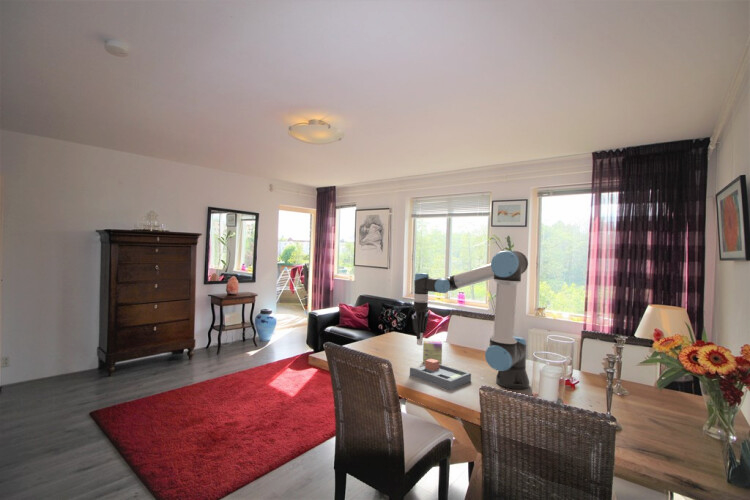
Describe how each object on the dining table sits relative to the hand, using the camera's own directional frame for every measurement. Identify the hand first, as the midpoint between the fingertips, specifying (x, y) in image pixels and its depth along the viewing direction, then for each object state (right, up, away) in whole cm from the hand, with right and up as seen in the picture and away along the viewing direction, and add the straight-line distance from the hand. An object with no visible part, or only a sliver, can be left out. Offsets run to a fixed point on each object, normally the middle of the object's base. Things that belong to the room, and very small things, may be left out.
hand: (419, 344), depth 193 cm
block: (+6, -11, -7) cm, 14 cm away
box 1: (+9, -14, +11) cm, 20 cm away
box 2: (+8, -13, -14) cm, 21 cm away
